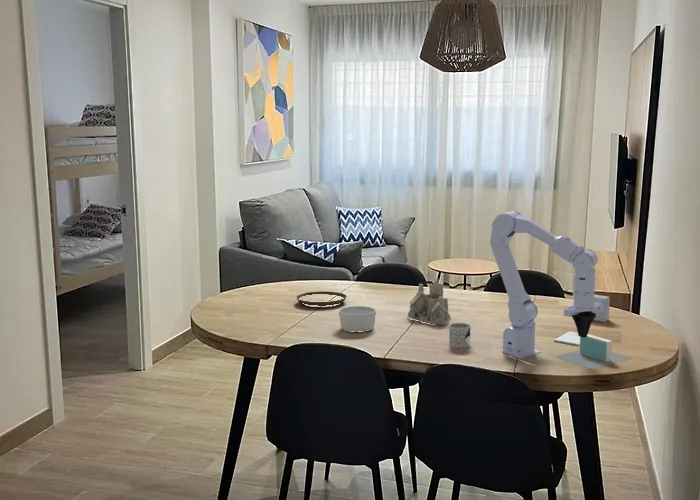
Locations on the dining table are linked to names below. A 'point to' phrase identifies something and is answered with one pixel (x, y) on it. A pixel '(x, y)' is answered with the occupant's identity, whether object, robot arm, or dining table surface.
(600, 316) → the medicine box
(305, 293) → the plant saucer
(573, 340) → the external hard drive
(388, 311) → the dining table surface
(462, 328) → the mug
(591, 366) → the mat
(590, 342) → the slab
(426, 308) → the ceramic cottage
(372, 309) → the ramekin
